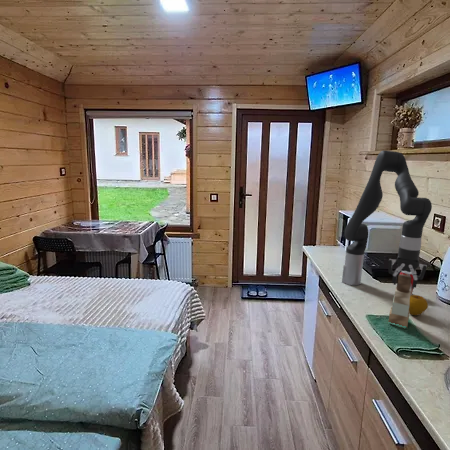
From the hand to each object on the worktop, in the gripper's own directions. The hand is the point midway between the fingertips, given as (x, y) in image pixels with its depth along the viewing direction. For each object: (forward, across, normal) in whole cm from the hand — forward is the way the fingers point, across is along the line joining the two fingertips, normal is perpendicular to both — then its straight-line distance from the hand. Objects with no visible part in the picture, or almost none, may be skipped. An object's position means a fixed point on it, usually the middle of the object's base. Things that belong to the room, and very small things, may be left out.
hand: (403, 285), depth 134 cm
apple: (+17, +6, +13) cm, 22 cm away
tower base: (+17, 0, 0) cm, 17 cm away
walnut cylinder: (+2, 0, 0) cm, 2 cm away
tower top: (+7, 0, 0) cm, 7 cm away
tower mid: (+12, 0, 0) cm, 12 cm away
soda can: (+17, 0, +36) cm, 40 cm away
